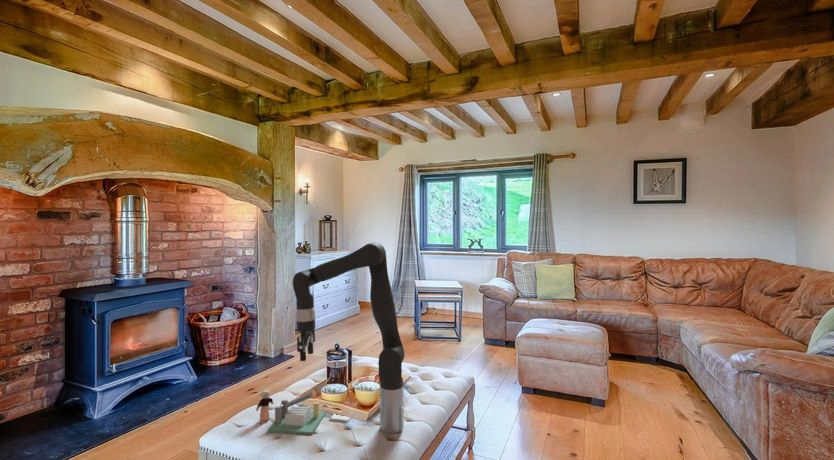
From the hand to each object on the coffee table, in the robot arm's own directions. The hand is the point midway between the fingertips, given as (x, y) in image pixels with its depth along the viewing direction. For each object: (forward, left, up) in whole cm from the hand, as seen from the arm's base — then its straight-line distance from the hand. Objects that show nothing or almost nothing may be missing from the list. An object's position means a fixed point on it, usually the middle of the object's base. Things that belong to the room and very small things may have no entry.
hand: (307, 357), depth 161 cm
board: (+3, +3, -26) cm, 27 cm away
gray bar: (+3, +3, -18) cm, 19 cm away
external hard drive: (-14, -6, -27) cm, 31 cm away
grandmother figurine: (+17, +2, -27) cm, 32 cm away
